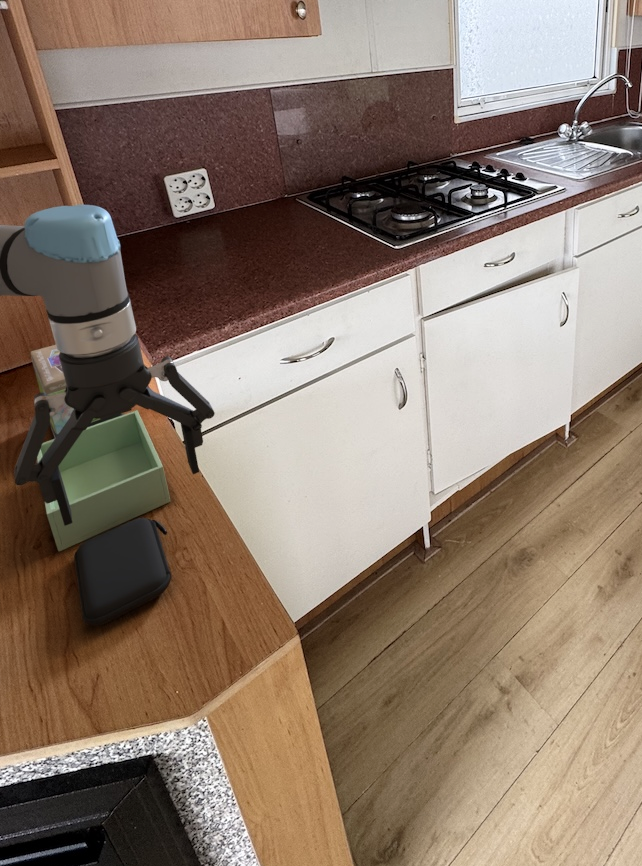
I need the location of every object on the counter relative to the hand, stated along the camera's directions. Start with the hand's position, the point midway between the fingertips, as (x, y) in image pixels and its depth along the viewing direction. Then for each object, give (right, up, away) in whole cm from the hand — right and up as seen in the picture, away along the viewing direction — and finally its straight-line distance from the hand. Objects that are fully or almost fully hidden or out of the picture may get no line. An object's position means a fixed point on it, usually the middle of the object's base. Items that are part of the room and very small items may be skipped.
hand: (134, 491), depth 72 cm
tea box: (-30, -3, +34) cm, 45 cm away
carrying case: (-4, -14, +6) cm, 16 cm away
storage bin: (-17, -8, +19) cm, 27 cm away
